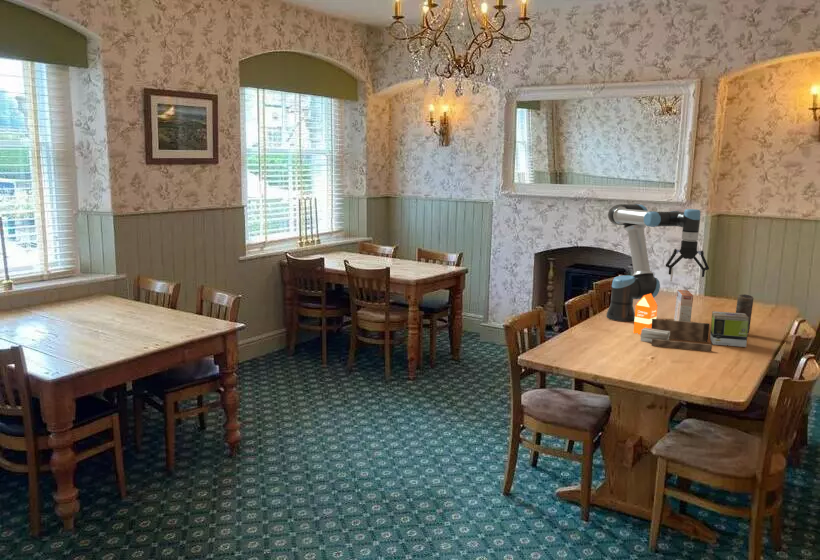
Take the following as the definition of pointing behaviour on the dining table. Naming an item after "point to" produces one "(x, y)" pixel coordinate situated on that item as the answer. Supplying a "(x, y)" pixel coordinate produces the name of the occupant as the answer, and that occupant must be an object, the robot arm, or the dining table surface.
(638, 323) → the orange juice
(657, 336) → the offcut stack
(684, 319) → the cracker box
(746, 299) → the candle
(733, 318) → the tea box
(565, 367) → the dining table surface
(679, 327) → the walnut rack
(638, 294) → the robot arm
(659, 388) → the dining table surface
